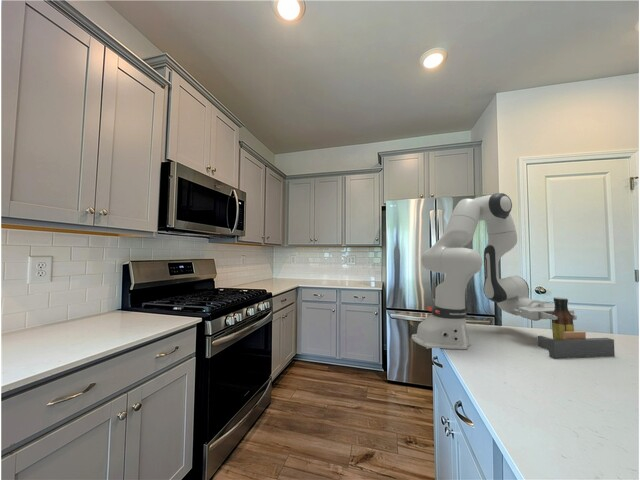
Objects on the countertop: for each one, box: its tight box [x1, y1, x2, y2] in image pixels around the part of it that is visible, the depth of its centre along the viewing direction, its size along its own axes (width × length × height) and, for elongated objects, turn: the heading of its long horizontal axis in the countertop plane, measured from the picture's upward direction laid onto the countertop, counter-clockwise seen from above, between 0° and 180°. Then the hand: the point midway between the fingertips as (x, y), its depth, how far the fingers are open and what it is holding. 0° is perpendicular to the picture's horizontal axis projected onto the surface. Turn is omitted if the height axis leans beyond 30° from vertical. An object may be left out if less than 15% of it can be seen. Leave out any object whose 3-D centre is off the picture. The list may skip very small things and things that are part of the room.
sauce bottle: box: [551, 296, 575, 339], centre depth 99 cm, size 7×6×20 cm
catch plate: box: [563, 330, 587, 339], centre depth 95 cm, size 8×1×7 cm, turn 96°
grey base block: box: [537, 335, 616, 360], centre depth 98 cm, size 24×12×6 cm, turn 96°
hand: (565, 317), depth 99 cm, fingers open, 7 cm apart
